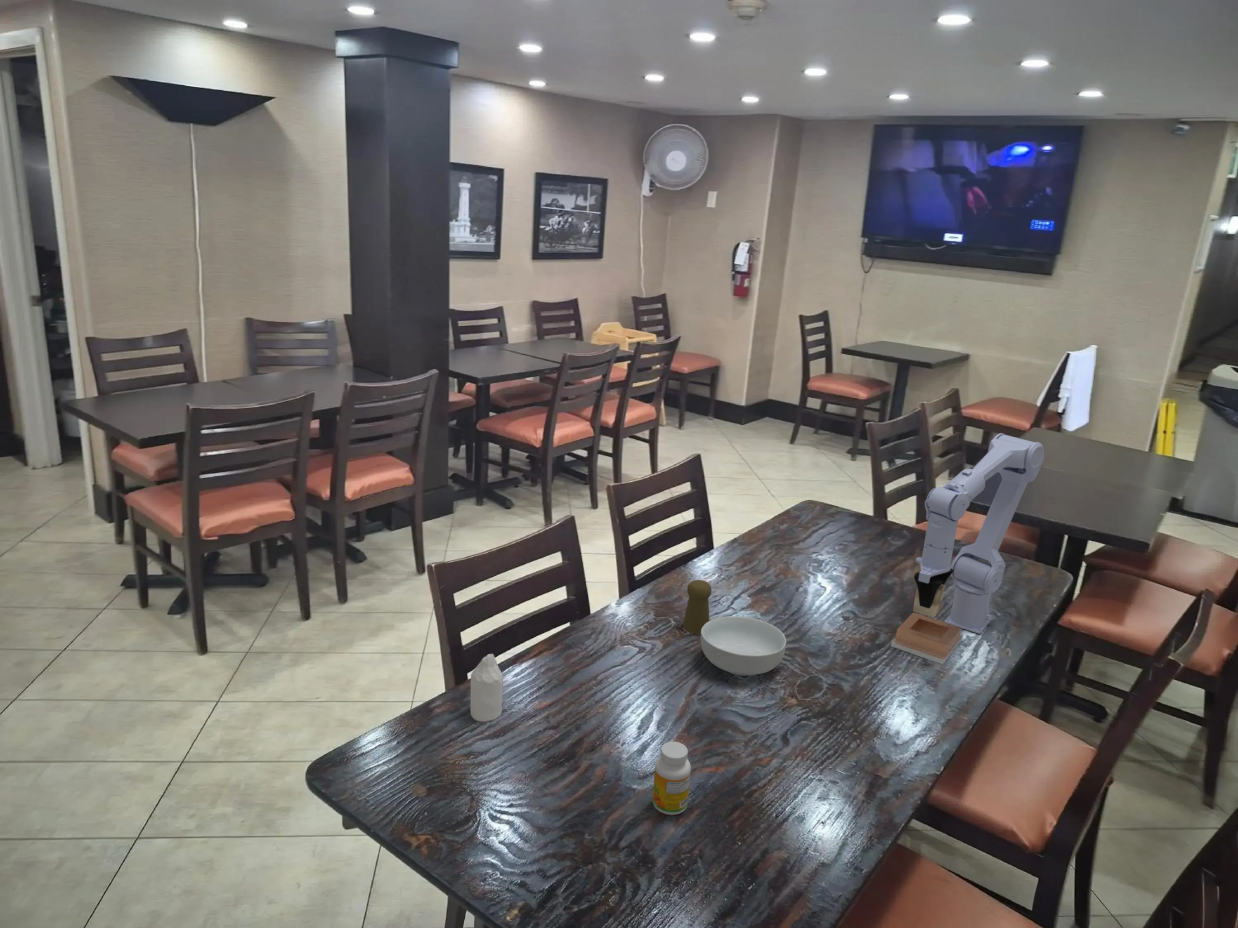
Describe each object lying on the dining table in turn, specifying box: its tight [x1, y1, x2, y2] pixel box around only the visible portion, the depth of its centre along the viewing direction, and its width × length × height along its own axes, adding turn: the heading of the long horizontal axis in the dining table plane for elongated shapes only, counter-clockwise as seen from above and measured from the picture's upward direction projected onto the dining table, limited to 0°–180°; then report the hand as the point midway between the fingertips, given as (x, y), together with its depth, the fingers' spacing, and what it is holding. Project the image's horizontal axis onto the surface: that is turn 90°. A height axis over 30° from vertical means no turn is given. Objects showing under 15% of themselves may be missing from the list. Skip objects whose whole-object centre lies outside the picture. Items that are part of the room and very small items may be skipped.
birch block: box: [912, 584, 946, 619], centre depth 174 cm, size 4×4×6 cm
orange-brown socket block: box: [890, 612, 964, 665], centre depth 176 cm, size 14×11×4 cm
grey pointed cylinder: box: [470, 653, 504, 723], centre depth 142 cm, size 6×12×6 cm
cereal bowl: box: [699, 615, 787, 677], centre depth 162 cm, size 17×17×7 cm
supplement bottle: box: [652, 741, 692, 816], centre depth 122 cm, size 5×5×10 cm
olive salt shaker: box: [682, 579, 713, 635], centre depth 176 cm, size 6×6×11 cm
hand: (928, 602), depth 174 cm, fingers closed on birch block, 4 cm apart
